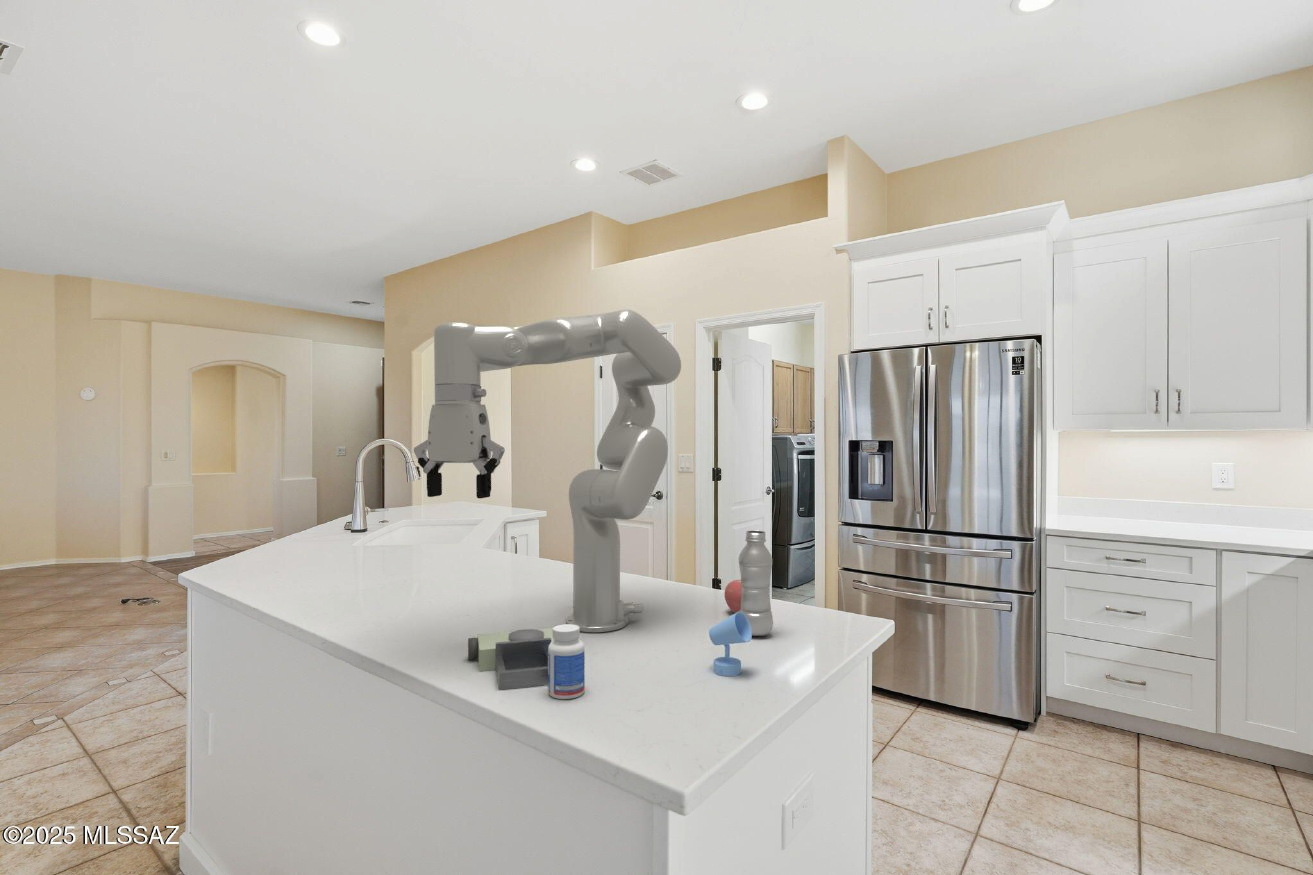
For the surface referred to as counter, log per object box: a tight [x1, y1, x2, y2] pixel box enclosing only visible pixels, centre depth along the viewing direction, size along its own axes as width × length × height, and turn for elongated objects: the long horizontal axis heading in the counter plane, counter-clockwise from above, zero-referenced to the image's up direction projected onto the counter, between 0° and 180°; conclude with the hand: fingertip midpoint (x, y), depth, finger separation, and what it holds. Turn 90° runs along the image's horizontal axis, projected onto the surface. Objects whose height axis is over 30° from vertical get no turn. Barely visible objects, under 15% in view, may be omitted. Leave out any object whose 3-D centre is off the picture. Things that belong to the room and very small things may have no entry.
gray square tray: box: [494, 638, 551, 691], centre depth 105 cm, size 9×9×4 cm
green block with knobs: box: [467, 627, 554, 672], centre depth 113 cm, size 17×9×4 cm, turn 107°
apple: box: [724, 579, 742, 614], centre depth 143 cm, size 7×7×8 cm
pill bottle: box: [547, 624, 586, 700], centre depth 98 cm, size 6×5×10 cm
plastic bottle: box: [738, 530, 774, 637], centre depth 127 cm, size 6×7×20 cm
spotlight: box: [708, 612, 753, 677], centre depth 107 cm, size 5×10×7 cm
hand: (458, 496), depth 112 cm, fingers open, 9 cm apart
